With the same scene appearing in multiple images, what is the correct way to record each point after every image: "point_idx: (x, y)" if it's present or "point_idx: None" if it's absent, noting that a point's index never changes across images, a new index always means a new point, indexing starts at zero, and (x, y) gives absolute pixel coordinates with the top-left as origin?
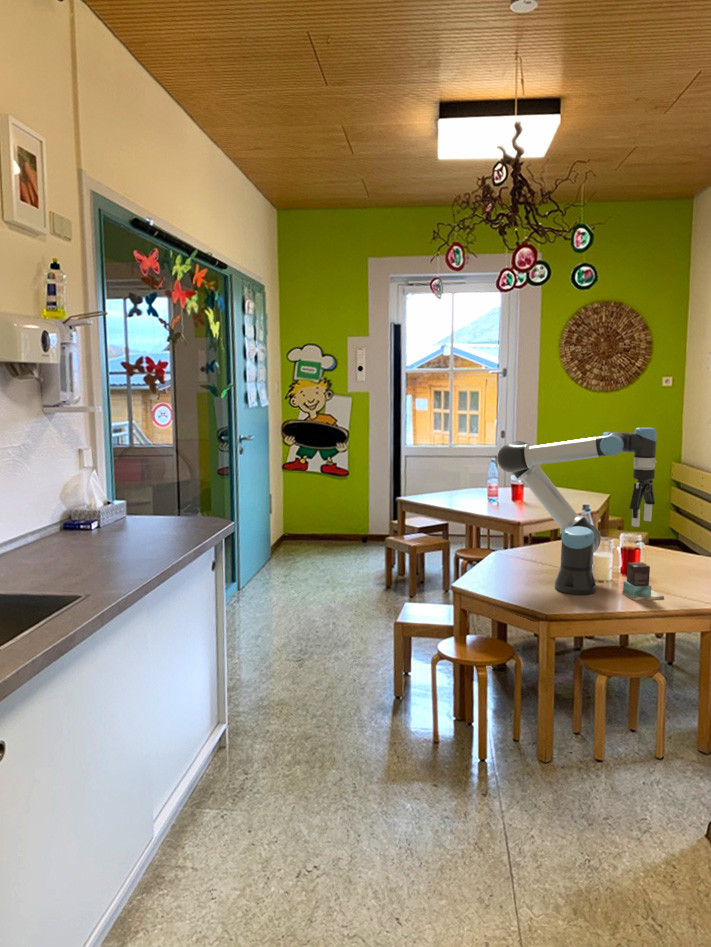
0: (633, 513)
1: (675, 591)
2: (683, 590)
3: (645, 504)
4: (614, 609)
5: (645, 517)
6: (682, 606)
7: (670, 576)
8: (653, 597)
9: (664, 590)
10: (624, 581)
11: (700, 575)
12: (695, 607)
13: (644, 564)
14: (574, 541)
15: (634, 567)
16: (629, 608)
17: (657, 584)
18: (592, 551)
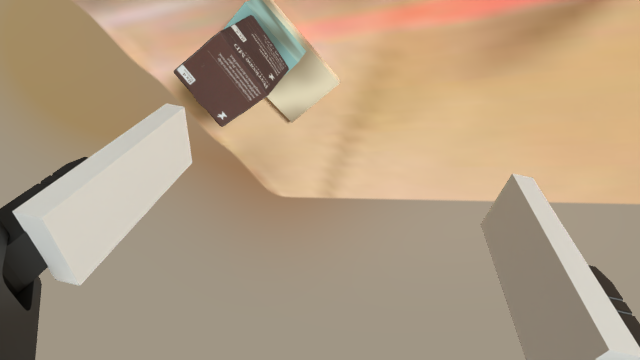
0: (35, 194)
1: (390, 141)
2: (413, 159)
3: (595, 354)
4: (95, 6)
5: (515, 209)
6: (259, 160)
7: (596, 117)
8: (268, 97)
9: (386, 113)
10: (243, 6)
11: (631, 197)
12: (271, 183)
13: (237, 105)
14: None
15: (174, 72)
16: (141, 46)
17: (455, 87)
18: None
